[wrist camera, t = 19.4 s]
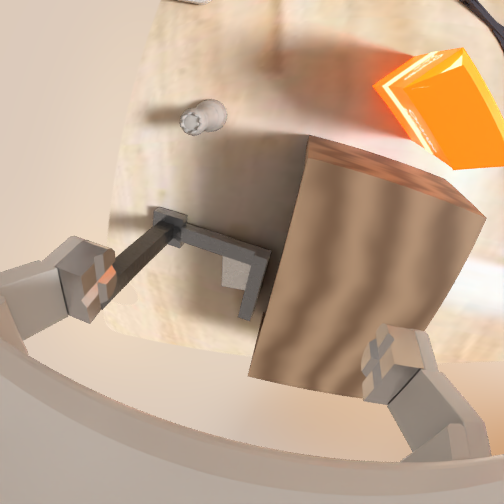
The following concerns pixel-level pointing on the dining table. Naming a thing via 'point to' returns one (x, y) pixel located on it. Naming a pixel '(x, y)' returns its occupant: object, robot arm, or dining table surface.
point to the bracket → (486, 19)
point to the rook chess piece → (204, 117)
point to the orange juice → (446, 109)
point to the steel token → (234, 273)
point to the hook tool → (179, 232)
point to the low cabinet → (358, 264)
